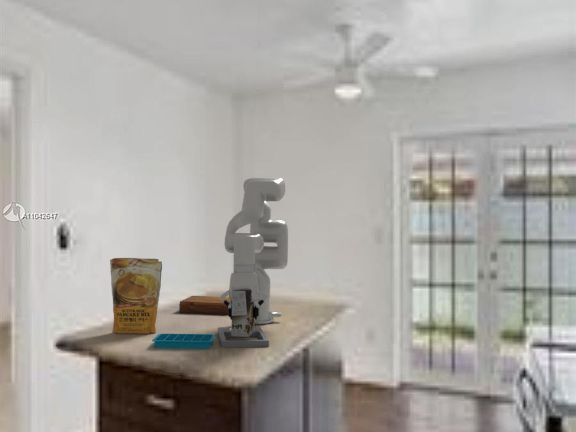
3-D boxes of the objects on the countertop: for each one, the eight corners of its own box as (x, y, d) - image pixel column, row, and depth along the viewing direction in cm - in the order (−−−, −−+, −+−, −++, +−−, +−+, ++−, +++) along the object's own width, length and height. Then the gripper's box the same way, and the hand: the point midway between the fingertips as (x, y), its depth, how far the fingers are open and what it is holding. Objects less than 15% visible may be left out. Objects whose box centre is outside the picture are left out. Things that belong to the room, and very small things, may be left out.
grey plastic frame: (259, 331, 225) (259, 325, 225) (268, 346, 201) (268, 340, 201) (217, 332, 222) (218, 326, 222) (222, 347, 198) (222, 341, 198)
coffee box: (248, 337, 203) (249, 290, 202) (230, 336, 204) (231, 290, 204) (255, 331, 212) (255, 287, 211) (238, 330, 213) (238, 286, 213)
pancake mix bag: (111, 330, 224) (112, 257, 224) (161, 330, 224) (162, 257, 224) (106, 334, 217) (107, 258, 217) (158, 334, 217) (159, 259, 217)
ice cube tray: (211, 350, 195) (211, 341, 195) (151, 349, 196) (151, 340, 196) (216, 342, 207) (216, 334, 207) (159, 341, 207) (159, 333, 207)
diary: (179, 314, 263) (179, 301, 263) (191, 307, 281) (191, 295, 281) (229, 316, 259) (229, 303, 259) (238, 309, 278) (238, 296, 278)
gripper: (266, 268, 213) (266, 316, 213) (218, 268, 210) (218, 317, 210) (269, 270, 205) (269, 320, 206) (220, 270, 202) (219, 321, 203)
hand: (243, 318), depth 208 cm, fingers closed on coffee box, 8 cm apart
